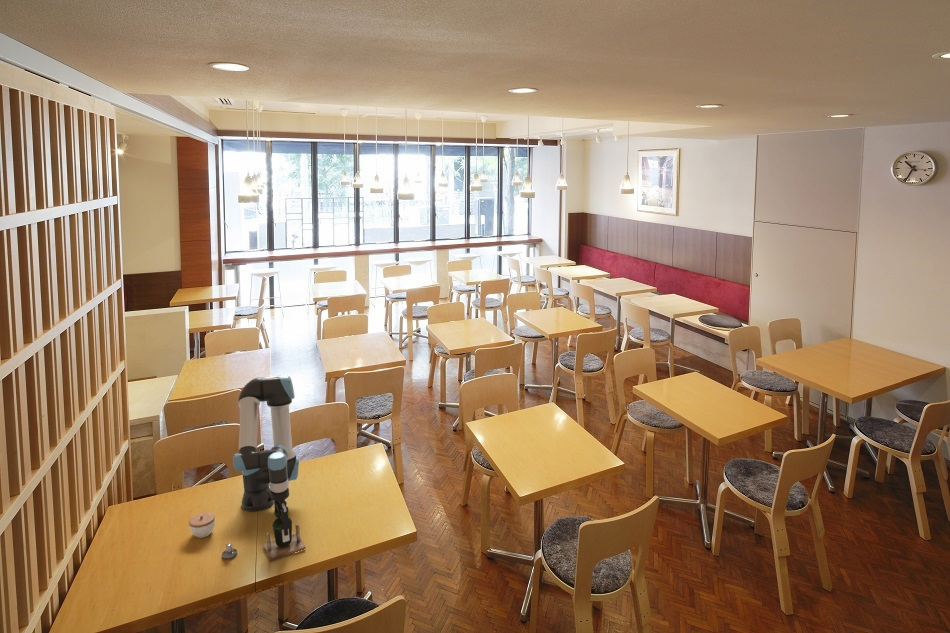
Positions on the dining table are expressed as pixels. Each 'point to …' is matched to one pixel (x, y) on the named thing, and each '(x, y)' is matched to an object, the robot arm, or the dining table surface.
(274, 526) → the potion bottle
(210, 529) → the lidded jar
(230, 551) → the ring nut stud
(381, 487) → the dining table surface
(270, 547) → the rack
